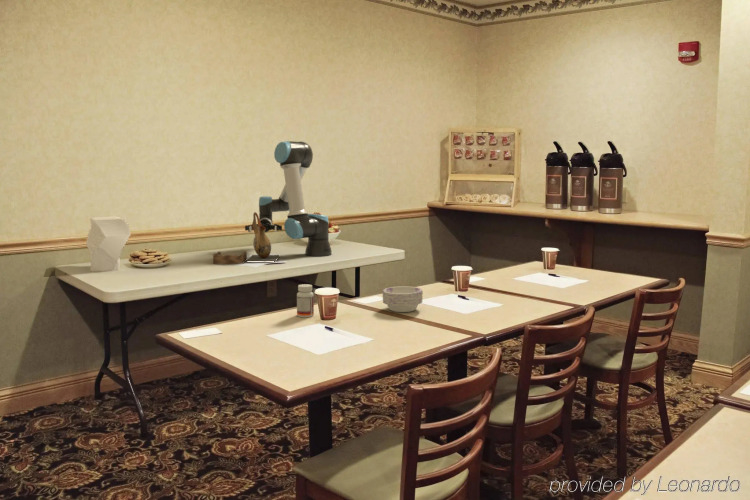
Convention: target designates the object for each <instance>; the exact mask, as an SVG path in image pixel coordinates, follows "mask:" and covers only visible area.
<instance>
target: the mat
mask: <svg viewBox="0 0 750 500" xmlns="http://www.w3.org/2000/svg"><path fill="white" fill-rule="evenodd" d="M277 258H278V259H279V258H280V254H269V256H268V257H265V258H262V257H260V256H258V255H257V254H252V255H251V256H250V257H247V260H246V262H247V261H274V262H275V261H276V259H277ZM278 259H277V260H278ZM276 262H277V261H276ZM276 262H275V263H276Z"/></svg>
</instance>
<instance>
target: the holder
mask: <svg viewBox="0 0 750 500" xmlns="http://www.w3.org/2000/svg"><path fill="white" fill-rule="evenodd" d="M221 253H222V252H221V251H217V252H216V253H214V254H213V255H212V263H213V264H214V265H215V264H216V265H239V264H238V263H243V262H244V261H245V260H246V259H248V252H247V251H243V252H242V253H241V254H221ZM246 261H247V260H246ZM246 261H245V262H246ZM245 262H244V263H245ZM244 263H243V264H244Z"/></svg>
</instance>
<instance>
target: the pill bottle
mask: <svg viewBox="0 0 750 500" xmlns="http://www.w3.org/2000/svg"><path fill="white" fill-rule="evenodd" d="M297 290H298V292H297V293H296V316H298V317H299V318H310V317H313V316H314V315H315V314H314V313H315V306H314V303H315V301H314V300H315V299H314V298H315V296H314V292H312V291H313V285H312V284H307V283H306V284H305V283H304V284H303V283H302V284H298V286H297Z"/></svg>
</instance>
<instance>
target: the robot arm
mask: <svg viewBox="0 0 750 500" xmlns="http://www.w3.org/2000/svg"><path fill="white" fill-rule="evenodd" d="M273 156H274V159H275V161H276V162H277V163H279V166H280V169H282V170H283V176H284V181H285V183H284V185H283V187H282V190H281V192H280V194H279V197H278V198H273V197H272V196H270V195H269V196H268V195H267V196H265V195H263V196H260V197H259V198H258V208H259V209H258V213H259V214H258V217H259V220H260V222H261V225H262V226H263V227H265V228H266V229H265V233H268V232H270V231H274V233H277V231H282V230H283V227H284V231H285V233H286V235H287V236H288V237H289V238H290V239H294V240H301V239H307V244H306V247H305V251H304V254H305V256H311V257H326V256H331V255H333V253H332V252H333V251H332V247H331V244H330V240H329V234H330V233H329V229H330V228H329V225H330V224H329V223H330V222H329V217H328V215H325V214H319V213H318V214H315V213H309V212H307V211H306V210H305V202H304V194H303V188H302V186H303V185H302V180H303V178H304V175H305V173H306V171H307V169H309V168H310V167H311V164H312V163H313V157H314V153H313V149H312V147H311V146H310V145H309V144H308V143H307V142H305V141H289V140H288V141H287V140H286V141H280V142H278V143H277V144H276V147H275V149H274V153H273ZM278 212H289V213H288V214H287V219H285V221H284V226H283V225H282V224H280V225H279V224H277V223H274V224H273V213H278ZM256 224H257V226H258V223H256ZM251 226H252V224H248V225H244V231H248V232H249V233H252V232H253V231H254V230H253V229H252V227H251ZM258 229H259V228H258Z"/></svg>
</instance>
